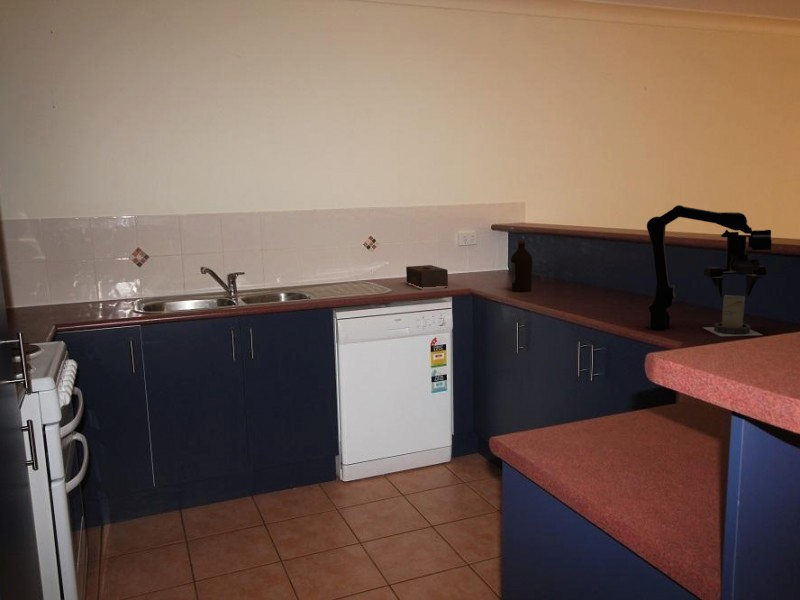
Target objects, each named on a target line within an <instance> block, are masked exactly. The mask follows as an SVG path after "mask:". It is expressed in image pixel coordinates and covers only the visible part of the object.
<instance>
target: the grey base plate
mask: <svg viewBox="0 0 800 600" xmlns="http://www.w3.org/2000/svg"><path fill="white" fill-rule="evenodd" d="M703 329H704V330H706V331H708V332H711V333H713V334H715V335H717V336H719V337H741V336H742V337H747V336H763V334H762V333H760V332H757V331H755V330H753V329H750V333H748V334H741V335H733V334H723V333H718V332H716V331H714V326H711V327H708V326H707V327H703Z"/></svg>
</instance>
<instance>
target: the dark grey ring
mask: <svg viewBox="0 0 800 600" xmlns="http://www.w3.org/2000/svg"><path fill="white" fill-rule="evenodd" d="M713 325H714V326H713V327H714V331H716V332H718V333H723V334H733V335H741V334H748V333H750V330H751V325H749V324H747V323H743V328H726V327H722V321H721V322H717V323H716V322H715V323H714V324H713Z"/></svg>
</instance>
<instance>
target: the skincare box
mask: <svg viewBox="0 0 800 600" xmlns="http://www.w3.org/2000/svg"><path fill="white" fill-rule="evenodd" d="M745 301H746V295H745V296H744V295H733V294H732V295H731V294H730V295H729V294H725V295H724V296H723V301H722V302H723V303H722V312H721V313H722V315H721V322H722V327H726V328H743V324H744V314H745Z"/></svg>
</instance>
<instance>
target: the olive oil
mask: <svg viewBox="0 0 800 600" xmlns="http://www.w3.org/2000/svg"><path fill="white" fill-rule="evenodd" d="M517 247H518V248H517V249H516V250H515V252H514V253H513V254H512V255H511V259H510V269H511V284H512V285H511V290H512V291H513V292H516V293H527V292H528V293H529V292H531V291H532V283H533V281H532V279H533V278H532V277H533V276H532V275H533V261H534V260H533V256H532V255H531V253H530V252H529V251H528V250H527V249H526V241H525V240H518V245H517Z"/></svg>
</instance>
